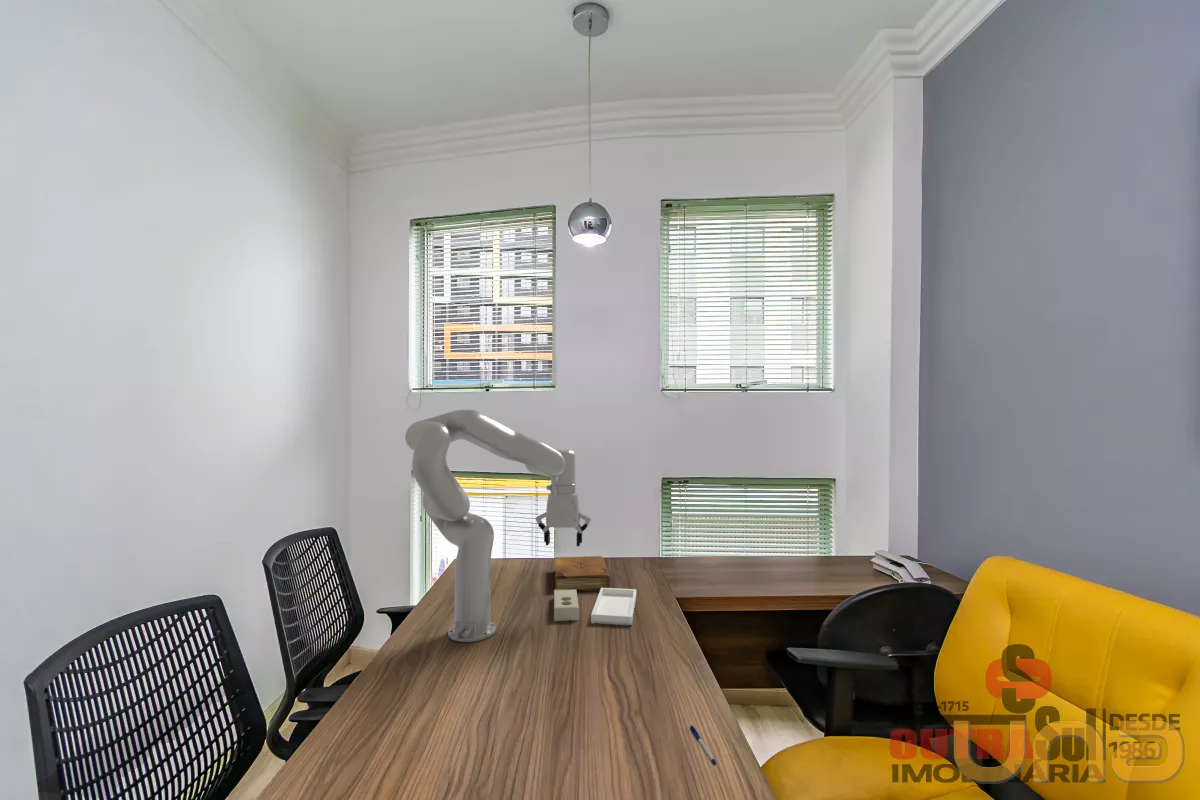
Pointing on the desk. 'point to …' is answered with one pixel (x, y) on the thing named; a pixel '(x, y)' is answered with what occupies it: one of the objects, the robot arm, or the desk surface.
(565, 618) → the electrical outlet
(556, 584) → the diary
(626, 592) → the holder tray
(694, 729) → the ballpoint pen
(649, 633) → the desk surface
